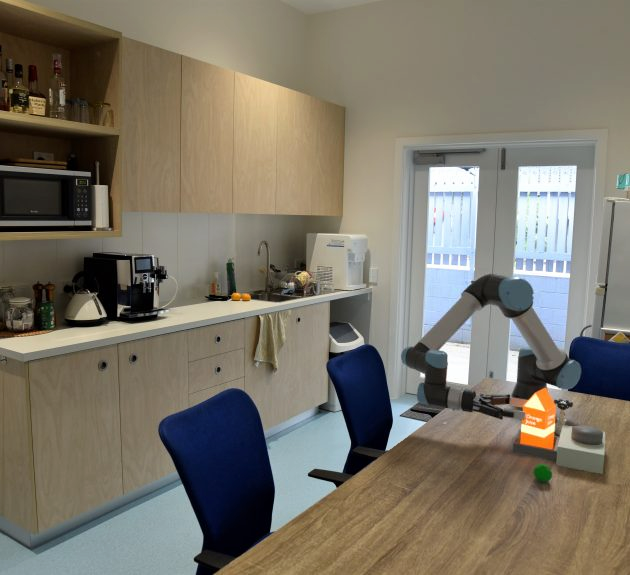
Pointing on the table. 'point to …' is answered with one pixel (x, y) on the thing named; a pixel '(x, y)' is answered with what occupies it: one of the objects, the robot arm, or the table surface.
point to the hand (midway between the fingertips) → (527, 410)
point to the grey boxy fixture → (571, 448)
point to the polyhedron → (542, 473)
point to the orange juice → (539, 420)
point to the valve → (561, 414)
